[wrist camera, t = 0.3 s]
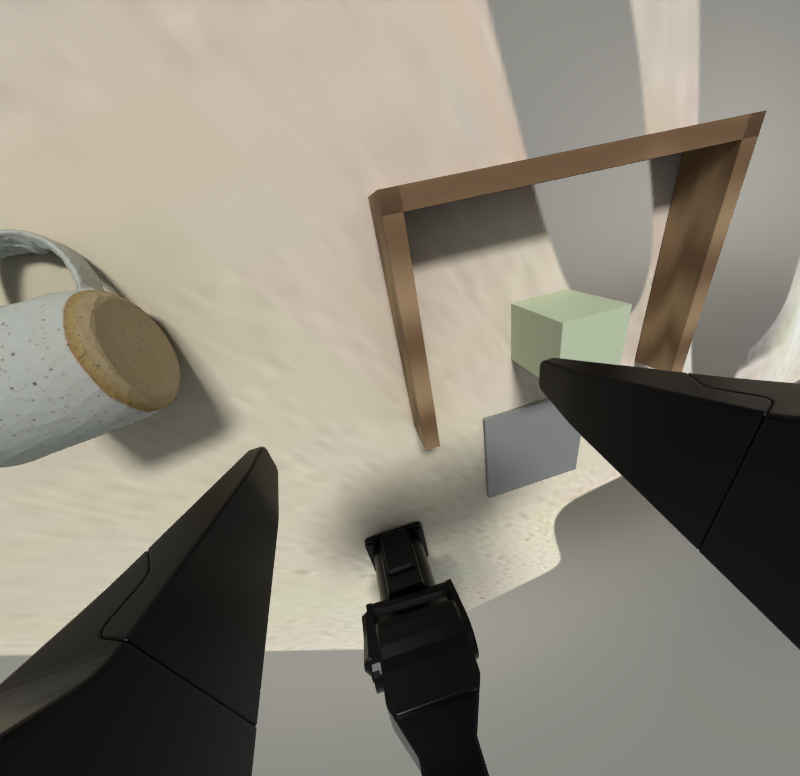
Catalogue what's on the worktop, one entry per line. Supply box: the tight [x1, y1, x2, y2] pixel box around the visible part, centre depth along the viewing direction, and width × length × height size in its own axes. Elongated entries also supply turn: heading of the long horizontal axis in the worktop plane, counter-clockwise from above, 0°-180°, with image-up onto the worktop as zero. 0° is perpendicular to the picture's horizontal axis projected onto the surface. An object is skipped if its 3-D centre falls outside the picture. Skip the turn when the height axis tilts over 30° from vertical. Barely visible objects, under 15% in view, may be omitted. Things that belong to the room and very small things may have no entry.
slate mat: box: [483, 399, 581, 498], centre depth 32 cm, size 11×11×1 cm
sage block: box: [511, 289, 632, 378], centre depth 23 cm, size 5×5×6 cm
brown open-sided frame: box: [368, 111, 766, 450], centre depth 23 cm, size 18×24×4 cm
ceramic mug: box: [0, 229, 181, 467], centre depth 15 cm, size 11×8×8 cm
